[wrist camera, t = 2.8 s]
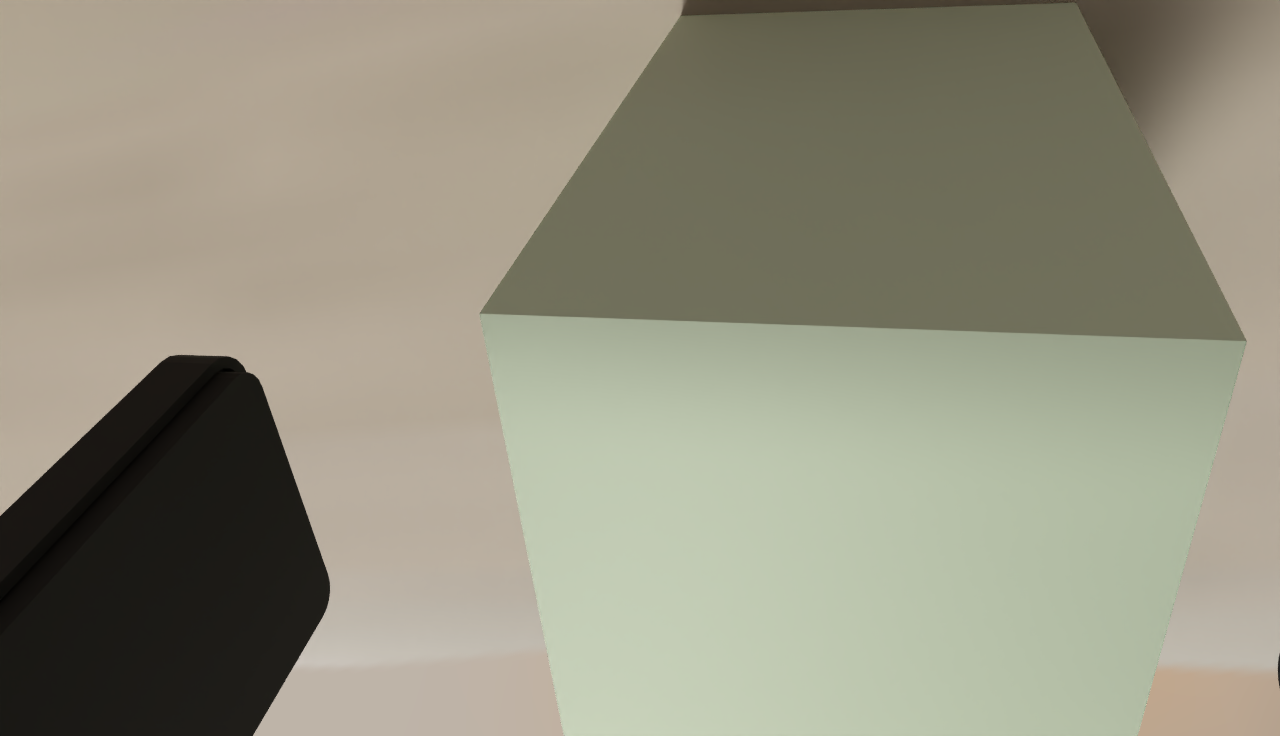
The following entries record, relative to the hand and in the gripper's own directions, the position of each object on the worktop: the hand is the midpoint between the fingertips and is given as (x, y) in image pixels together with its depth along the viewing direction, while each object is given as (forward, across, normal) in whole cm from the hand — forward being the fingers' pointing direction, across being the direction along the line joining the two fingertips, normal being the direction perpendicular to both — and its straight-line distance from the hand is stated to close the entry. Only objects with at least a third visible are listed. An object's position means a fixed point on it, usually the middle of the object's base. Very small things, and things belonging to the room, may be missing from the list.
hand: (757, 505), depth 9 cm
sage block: (+7, -1, 0) cm, 7 cm away
